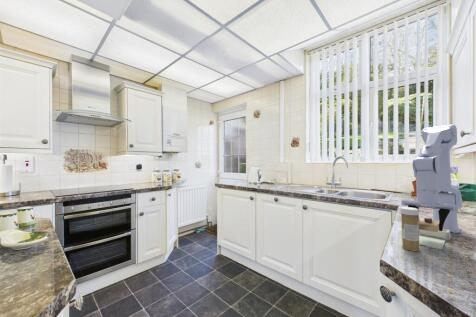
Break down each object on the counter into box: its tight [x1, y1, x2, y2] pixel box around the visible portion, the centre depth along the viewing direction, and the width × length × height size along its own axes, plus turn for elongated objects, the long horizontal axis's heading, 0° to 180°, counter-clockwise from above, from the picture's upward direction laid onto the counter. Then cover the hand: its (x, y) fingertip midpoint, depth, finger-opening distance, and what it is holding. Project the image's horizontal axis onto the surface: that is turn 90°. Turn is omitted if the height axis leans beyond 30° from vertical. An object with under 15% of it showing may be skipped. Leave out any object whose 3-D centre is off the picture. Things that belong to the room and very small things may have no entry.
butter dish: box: [419, 229, 451, 242], centre depth 76 cm, size 5×9×3 cm, turn 39°
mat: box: [419, 235, 447, 251], centre depth 70 cm, size 11×7×1 cm, turn 129°
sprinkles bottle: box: [399, 206, 421, 252], centre depth 65 cm, size 5×5×14 cm
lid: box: [418, 217, 439, 232], centre depth 70 cm, size 5×9×3 cm, turn 129°
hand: (428, 228), depth 70 cm, fingers closed on lid, 5 cm apart
